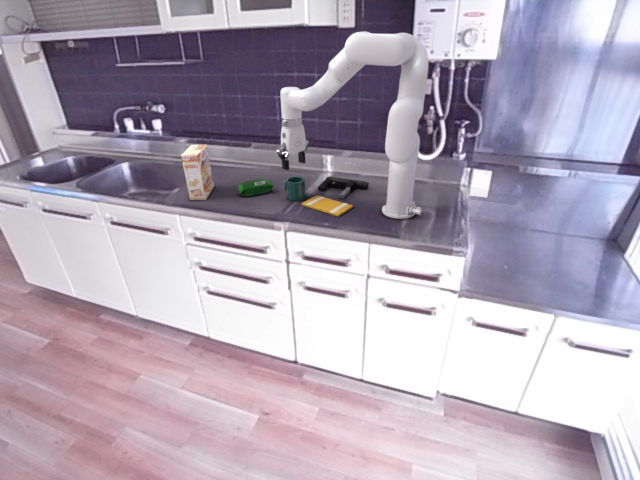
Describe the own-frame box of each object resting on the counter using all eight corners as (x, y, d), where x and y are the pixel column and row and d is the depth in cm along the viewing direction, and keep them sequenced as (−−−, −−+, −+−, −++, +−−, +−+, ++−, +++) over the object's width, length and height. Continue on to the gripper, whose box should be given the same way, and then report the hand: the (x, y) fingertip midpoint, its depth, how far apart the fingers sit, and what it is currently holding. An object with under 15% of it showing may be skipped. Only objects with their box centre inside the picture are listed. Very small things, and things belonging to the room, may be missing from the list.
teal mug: (308, 196, 157) (308, 178, 153) (297, 202, 153) (296, 184, 149) (291, 191, 163) (289, 174, 159) (279, 197, 158) (278, 179, 154)
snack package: (276, 192, 162) (275, 181, 160) (240, 198, 157) (238, 187, 155) (271, 187, 168) (270, 176, 165) (236, 192, 163) (235, 181, 160)
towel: (352, 207, 147) (352, 205, 147) (338, 216, 141) (338, 214, 140) (317, 196, 157) (316, 194, 157) (301, 205, 150) (301, 203, 150)
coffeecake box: (206, 200, 157) (197, 154, 147) (189, 200, 157) (179, 154, 147) (214, 186, 170) (207, 143, 160) (199, 187, 170) (190, 144, 160)
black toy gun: (357, 195, 151) (369, 179, 163) (312, 188, 159) (327, 174, 171) (357, 202, 153) (369, 186, 165) (313, 195, 161) (328, 180, 172)
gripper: (283, 128, 134) (286, 174, 142) (314, 119, 145) (314, 162, 154) (268, 125, 138) (272, 170, 146) (299, 117, 149) (301, 158, 158)
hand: (294, 166), depth 150 cm, fingers open, 9 cm apart
